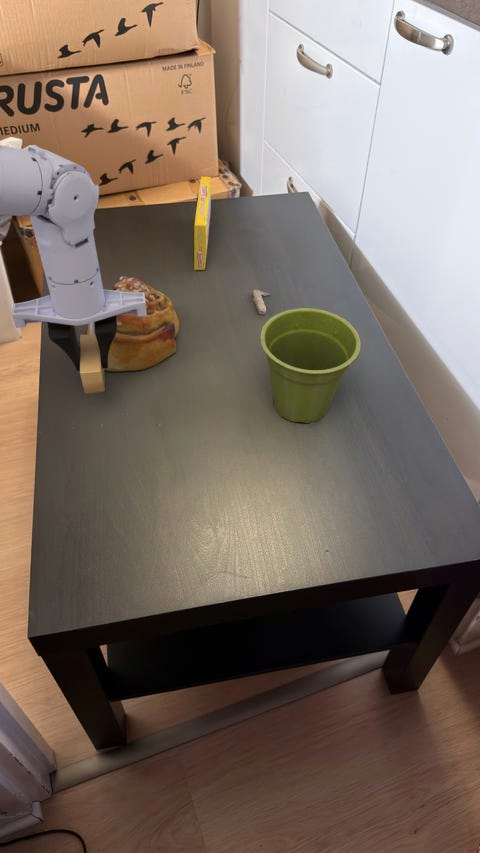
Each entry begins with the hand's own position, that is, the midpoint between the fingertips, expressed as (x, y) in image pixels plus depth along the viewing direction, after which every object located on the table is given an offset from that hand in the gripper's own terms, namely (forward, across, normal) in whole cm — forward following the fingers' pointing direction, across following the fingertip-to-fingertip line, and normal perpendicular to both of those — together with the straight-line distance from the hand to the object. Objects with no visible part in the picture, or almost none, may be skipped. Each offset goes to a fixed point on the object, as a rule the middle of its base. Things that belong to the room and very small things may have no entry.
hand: (92, 364), depth 76 cm
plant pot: (+7, -26, +4) cm, 27 cm away
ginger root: (+7, -25, -18) cm, 32 cm away
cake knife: (+2, 0, -6) cm, 6 cm away
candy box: (+7, -18, -36) cm, 41 cm away
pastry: (+7, -5, -13) cm, 16 cm away
